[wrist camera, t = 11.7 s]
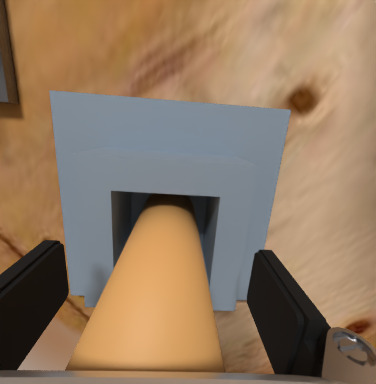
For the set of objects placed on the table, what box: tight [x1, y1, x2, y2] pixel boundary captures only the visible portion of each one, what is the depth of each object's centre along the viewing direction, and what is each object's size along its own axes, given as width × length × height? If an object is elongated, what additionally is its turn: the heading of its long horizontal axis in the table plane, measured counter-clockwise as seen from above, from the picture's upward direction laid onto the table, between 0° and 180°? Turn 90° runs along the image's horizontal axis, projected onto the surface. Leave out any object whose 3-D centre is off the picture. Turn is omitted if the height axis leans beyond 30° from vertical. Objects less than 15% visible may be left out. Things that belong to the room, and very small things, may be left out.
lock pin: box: [65, 193, 225, 373], centre depth 11 cm, size 4×4×14 cm
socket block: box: [49, 90, 291, 311], centre depth 16 cm, size 18×18×6 cm
